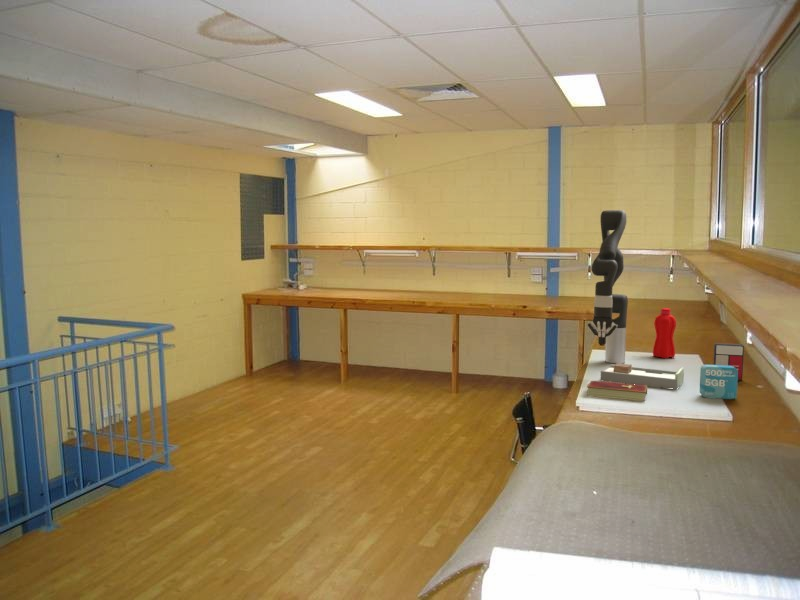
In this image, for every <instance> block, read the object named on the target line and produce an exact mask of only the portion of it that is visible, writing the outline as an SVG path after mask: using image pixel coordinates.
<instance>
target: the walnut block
mask: <svg viewBox="0 0 800 600" xmlns="http://www.w3.org/2000/svg"><path fill="white" fill-rule="evenodd" d="M613 365H614V372H616V373H625V374H629V373H630V372H631V369H632V367H633V366H632V365H633V364H629V363H614V364H613Z"/></svg>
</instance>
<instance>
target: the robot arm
mask: <svg viewBox="0 0 800 600" xmlns="http://www.w3.org/2000/svg"><path fill="white" fill-rule="evenodd" d="M599 220H600V228H601V229H600V230H601V232H600V233H601V240H602V243H601V244H600V248H599V252H598V254H597V256H596V258H595V259H594V260H593V262H592V264H591V272H592V274H593V275H594V276H595V277H603V281H597V282H596V283H595V289H594V291H595V292H594V295H595V296H594V302H593V318H592V321H590V322H589V323H587V327H588V328H589V329H590V331H591V333H592V334H593V335H594V336H597V337H598V339H597V340H598V342H597V343H598V345H599V346H601V347H604V346H605V352H604V354H605V356H604V361H606V362H605V363H608V364H609V363H611V364H617V363H621V364H626V363H625V362H626V343H627V342H626V341H627V340H626V339H627V318H628V317H627V315H628V307H629V306H628V304H629V303H628V302H629V298H628V295H626V294H617V293H613V287H614V285H615V283H616V282H617V281H618V280H619V278H620V277H621V276H622V273H623V272H624V255H623V253H622V251H621V250H620V248H619V247H618V246H619V243H620V241H621V238H622V236H623V234H624V231H625V229H626V225H627V213H626V211H624V210H623V209H622V210H621V209H616V210H615V209H614V210H613V209H609V210H602V211H601V214H600V219H599ZM610 231H612V232H611V233H610ZM613 314H618V316H617V317H616V318H613ZM596 328H597V329H596Z"/></svg>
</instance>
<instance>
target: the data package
mask: <svg viewBox="0 0 800 600" xmlns="http://www.w3.org/2000/svg"><path fill="white" fill-rule="evenodd" d="M699 373H700V376H699V393H700V395H701V396H702V397H703V398H705V399H718V398H720V399H723V400H735V399H736V398H737V396H738V382H739V380H738V370H737V369H736V368H734V367H733V366H727V365H713V364H702V365H701V366H700V372H699Z"/></svg>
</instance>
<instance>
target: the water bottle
mask: <svg viewBox="0 0 800 600" xmlns="http://www.w3.org/2000/svg"><path fill="white" fill-rule="evenodd" d="M653 325H654V329H655V335H656V336H655V340H654V344H653V349H652V355H653V357H655V356H656V357H655V358H659V357H661V358H660V359H670V358H669V357H673V358H674V357H675V356H676V348H675V343H674V342H675V341H674V334H675V330H676V326H677V319H676V317H674V316H673V315H672V314H671V308H667V307H666V308H664V307H663V308H661V309H660V314H658V315H657V316H656V317H655V318H654V323H653Z"/></svg>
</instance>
